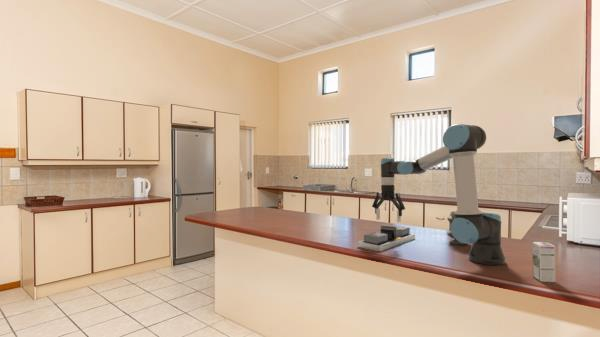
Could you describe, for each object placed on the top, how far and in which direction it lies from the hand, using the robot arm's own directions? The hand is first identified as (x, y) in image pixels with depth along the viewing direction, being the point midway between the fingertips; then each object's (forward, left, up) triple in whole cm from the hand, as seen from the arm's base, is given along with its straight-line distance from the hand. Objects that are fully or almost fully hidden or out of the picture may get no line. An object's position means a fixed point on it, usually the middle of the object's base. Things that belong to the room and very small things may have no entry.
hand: (388, 220), depth 193 cm
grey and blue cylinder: (-30, -27, -13) cm, 42 cm away
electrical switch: (0, 0, -12) cm, 12 cm away
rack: (0, 0, -13) cm, 13 cm away
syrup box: (-76, +11, -13) cm, 78 cm away
